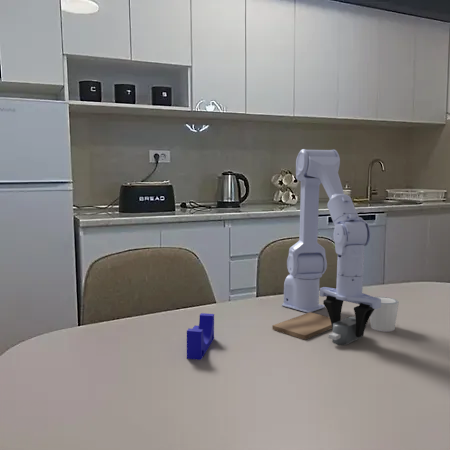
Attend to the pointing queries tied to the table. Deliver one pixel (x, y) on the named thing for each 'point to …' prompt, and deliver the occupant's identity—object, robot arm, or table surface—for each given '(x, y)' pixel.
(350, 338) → the connector plug
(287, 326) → the walnut board
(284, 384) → the table surface
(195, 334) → the cable clip
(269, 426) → the table surface
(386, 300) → the white cup
